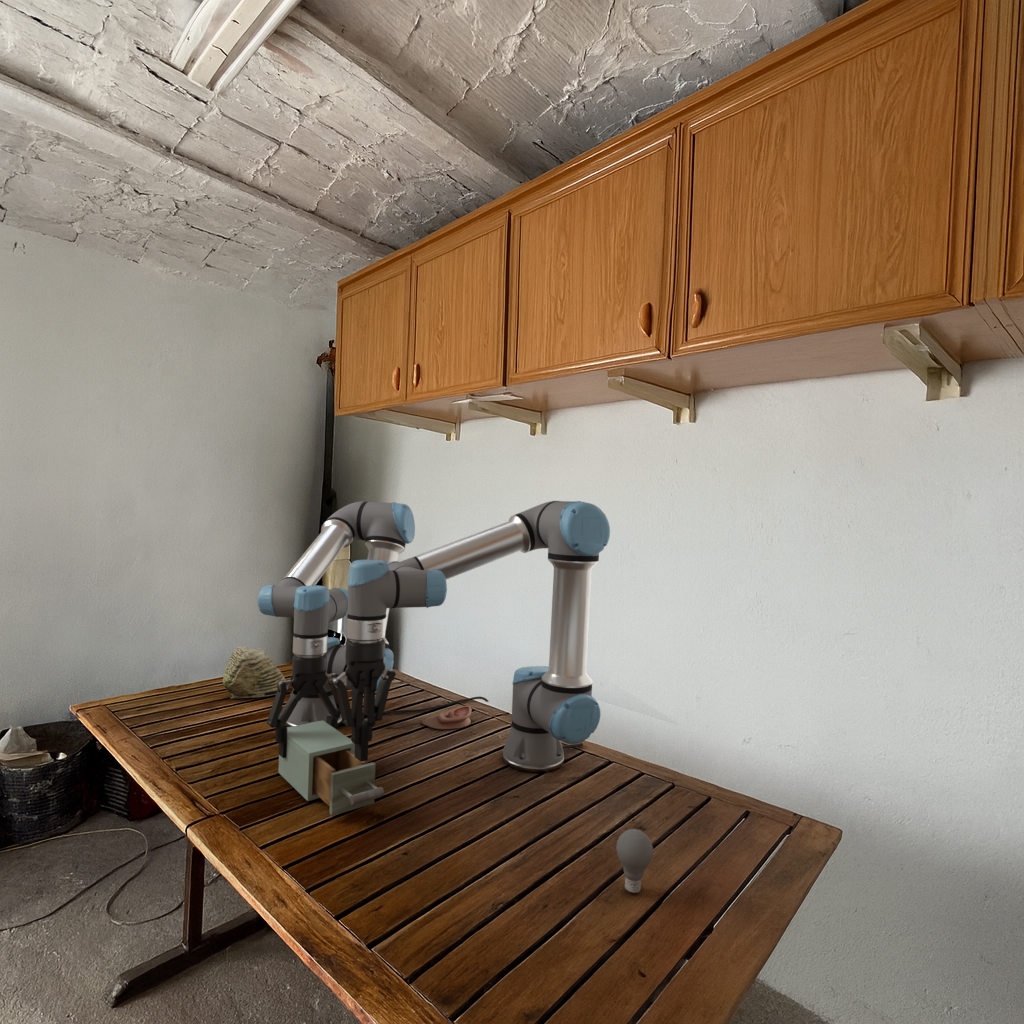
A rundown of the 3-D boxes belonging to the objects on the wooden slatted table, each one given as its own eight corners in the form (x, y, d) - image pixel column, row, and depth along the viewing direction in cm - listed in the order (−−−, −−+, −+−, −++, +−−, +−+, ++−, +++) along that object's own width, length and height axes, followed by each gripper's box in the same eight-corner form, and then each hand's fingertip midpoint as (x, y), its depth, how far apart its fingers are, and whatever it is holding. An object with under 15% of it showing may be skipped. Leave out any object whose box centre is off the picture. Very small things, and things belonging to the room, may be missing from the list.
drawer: (389, 815, 125) (390, 774, 125) (345, 829, 119) (347, 786, 119) (340, 776, 142) (342, 740, 141) (300, 786, 136) (302, 749, 136)
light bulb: (610, 879, 108) (613, 822, 108) (644, 879, 109) (647, 822, 109) (619, 902, 102) (622, 840, 102) (655, 901, 103) (658, 840, 103)
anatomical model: (418, 712, 176) (431, 700, 187) (417, 726, 176) (431, 713, 188) (464, 718, 174) (475, 705, 185) (463, 732, 174) (474, 718, 185)
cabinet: (353, 788, 138) (355, 742, 138) (307, 801, 131) (309, 753, 131) (321, 762, 151) (323, 720, 151) (278, 772, 144) (279, 728, 144)
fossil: (218, 695, 195) (220, 647, 195) (278, 685, 208) (279, 640, 207) (228, 703, 189) (230, 653, 188) (289, 692, 201) (290, 645, 201)
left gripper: (264, 664, 135) (261, 767, 135) (363, 651, 149) (360, 744, 150) (253, 656, 140) (249, 756, 141) (349, 645, 155) (346, 734, 155)
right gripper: (342, 646, 117) (337, 773, 117) (404, 639, 125) (399, 757, 126) (326, 638, 123) (321, 759, 123) (386, 632, 131) (381, 745, 132)
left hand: (306, 750), depth 145 cm, fingers closed on cabinet, 10 cm apart
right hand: (360, 758), depth 124 cm, fingers closed
